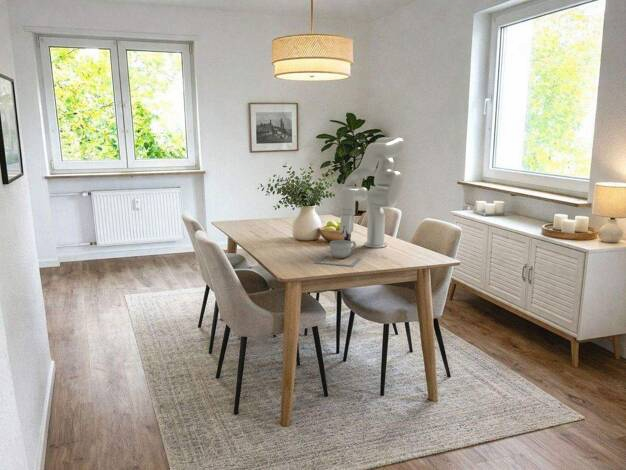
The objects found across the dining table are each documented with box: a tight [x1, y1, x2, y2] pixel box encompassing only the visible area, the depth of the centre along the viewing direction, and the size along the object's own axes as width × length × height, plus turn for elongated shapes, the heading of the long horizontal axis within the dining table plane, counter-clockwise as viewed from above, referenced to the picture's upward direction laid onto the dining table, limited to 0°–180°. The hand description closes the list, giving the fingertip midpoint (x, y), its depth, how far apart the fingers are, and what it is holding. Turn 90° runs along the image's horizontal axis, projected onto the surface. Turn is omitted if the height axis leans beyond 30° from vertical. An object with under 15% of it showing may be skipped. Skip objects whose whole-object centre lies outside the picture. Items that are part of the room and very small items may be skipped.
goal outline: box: [313, 255, 362, 268], centre depth 255 cm, size 16×20×1 cm
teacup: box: [329, 239, 357, 259], centre depth 264 cm, size 14×11×8 cm
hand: (347, 246), depth 270 cm, fingers closed
